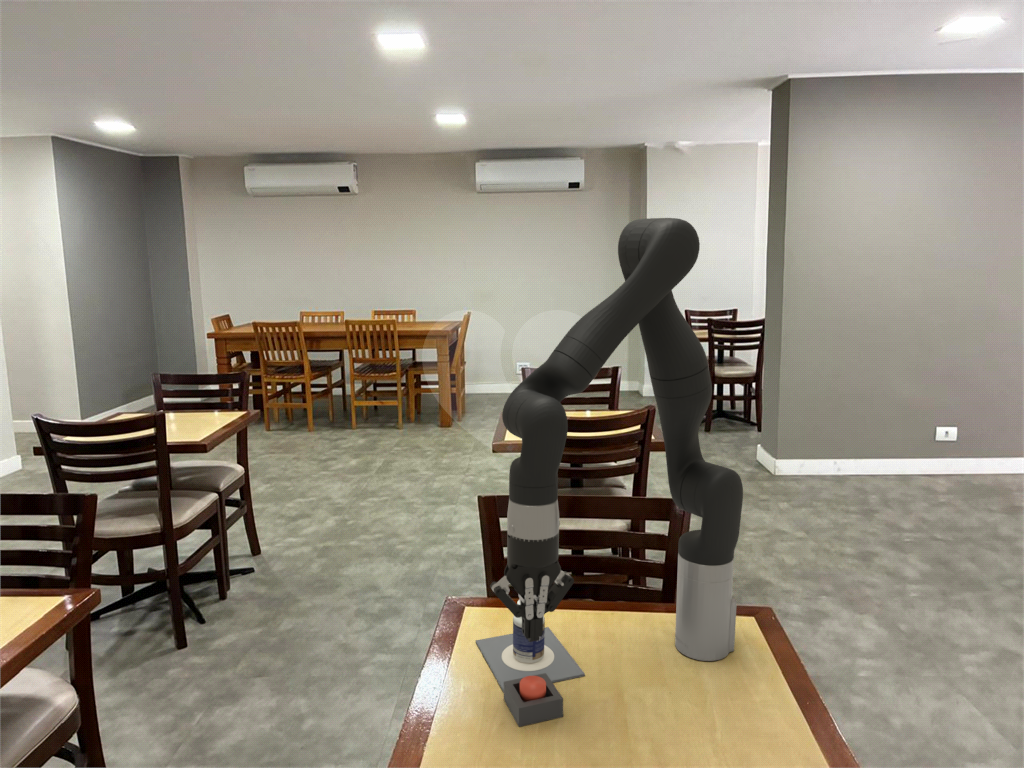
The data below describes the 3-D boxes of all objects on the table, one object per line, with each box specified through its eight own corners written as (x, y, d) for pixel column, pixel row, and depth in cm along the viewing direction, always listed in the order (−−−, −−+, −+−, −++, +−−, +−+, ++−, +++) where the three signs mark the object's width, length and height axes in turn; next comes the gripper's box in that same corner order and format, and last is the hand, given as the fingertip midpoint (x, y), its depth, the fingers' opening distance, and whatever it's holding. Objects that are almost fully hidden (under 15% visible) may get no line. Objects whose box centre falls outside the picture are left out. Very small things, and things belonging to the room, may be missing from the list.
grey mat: (548, 628, 130) (548, 626, 130) (584, 675, 115) (584, 673, 115) (475, 642, 125) (475, 639, 125) (503, 693, 111) (503, 690, 110)
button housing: (545, 690, 111) (545, 672, 111) (563, 716, 105) (563, 698, 104) (503, 699, 109) (503, 681, 109) (518, 726, 102) (518, 708, 102)
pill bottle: (540, 666, 117) (541, 612, 115) (509, 661, 118) (509, 608, 117) (547, 649, 122) (547, 597, 120) (517, 645, 123) (517, 593, 122)
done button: (540, 685, 109) (540, 673, 109) (550, 700, 105) (550, 688, 105) (516, 690, 108) (515, 678, 107) (525, 705, 104) (524, 693, 104)
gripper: (564, 514, 108) (562, 620, 110) (482, 524, 103) (482, 633, 106) (585, 531, 101) (583, 643, 103) (497, 543, 96) (497, 659, 99)
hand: (532, 638), depth 105 cm, fingers closed
